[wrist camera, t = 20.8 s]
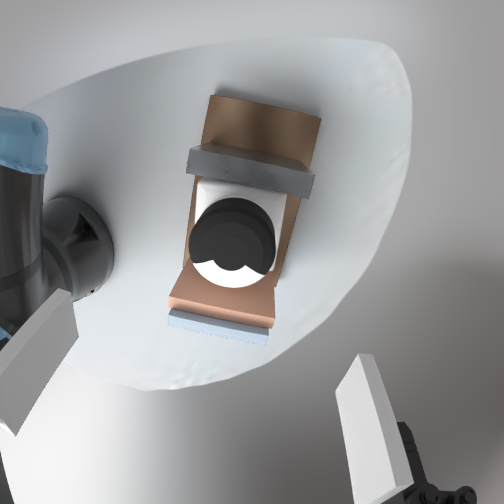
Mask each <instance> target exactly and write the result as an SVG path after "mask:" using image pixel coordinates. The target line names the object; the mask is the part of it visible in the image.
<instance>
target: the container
mask: <svg viewBox="0 0 504 504" xmlns="http://www.w3.org/2000/svg"><path fill="white" fill-rule="evenodd" d="M286 198H287V194H286V193H281V192H277V191H273V190H268V189H264V188H259V187H254V186H250V185H245V184H240V183H235V182H230V181H225V180H220V179H215V178H210V177H203V178H202V179H201V180H200V181H199V182H198V184H197V197H196V211H195V225H194V227H193V229H192V230H191V233H190V236H189V243H188V248H189V254H190V258H191V260H192V263H193V264H194V266H195V268H196V269H197V270H198V272H199V273H200V274H201V275H202V276H203V277H205V278H206V279H207V280H209V281H211V282H213V283H215V284H217V285H220V286H224V287H232V288H237V287H244V286H248V285H251V284H253V283H255V282H257V281H259V280H260V279H261V278H263V277H264V276H265V275H266V274H267V273H268V271H272V270H273V269H274V267H275V262H276V256H277V251H278V245H279V239H280V234H281V228H282V222H283V216H284V210H285V204H286Z"/></svg>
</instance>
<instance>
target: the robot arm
mask: <svg viewBox="0 0 504 504" xmlns="http://www.w3.org/2000/svg"><path fill="white" fill-rule="evenodd" d="M47 143H48V128H47V125H46V123H45V122H44V120H43V119H42V118H40V117H39V116H37V115H35V114H32V113H29V112H25V111H21V110H15V109H10V108H3V107H0V425H1V427H2V428H3V429H5V430H6V431H8V432H9V433H11V434H12V435H14V436H16V435H17V433H18V432H19V430H20V428H21V426H22V425H23V423H24V421H25V419H26V418H27V416H28V414H29V412H30V411H31V409H32V407H33V406H34V404H35V402H36V401H37V399H38V397H39V396H40V394H41V392H42V391H43V389H44V388H45V386H46V384H47V383H48V382H49V380H50V378H51V377H52V375H53V374H54V372H55V371H56V369H57V368H58V366H59V365H60V363H61V362H62V360H63V359H64V357H65V356H66V354H67V353H68V351H69V350H70V349H71V347H72V346H73V344H74V343H75V341H76V340H77V339H78V337H79V336H78V331H77V326H76V321H75V315H74V309H73V302H75V301H78V300H80V299H82V298H83V297H86V296H89V295H91V294H93V293H95V292H96V291H97V290H99V289H100V287H101V286H102V285H103V284H104V283H105V282H106V281H107V279H108V278H109V276H110V274H111V271H112V268H113V263H114V251H113V245H112V241H111V237H110V235H109V232H108V230H107V228H106V226H105V224H104V222H103V221H102V219H101V218H100V217H99V215H98V214H97V213H96V212H95V211H94V210H93V209H92V208H91V207H90V206H89V205H87V204H86V203H85V202H83V201H81V200H79V199H77V198H74V197H69V196H61V197H57V198H54V199H52V200H50V201H48V202H46V203H45V204H43V190H44V177H45V173H46V172H47V168H48V167H47V164H46V155H47ZM335 393H336V398H337V402H338V408H339V413H340V418H341V424H342V429H343V434H344V440H345V446H346V452H347V457H348V463H349V470H350V476H351V482H352V490H353V497H354V504H476V502H477V498H476V493H475V491H474V490H473V489H472V488H471V487H469V486H463V487H461V488H459V489H458V490H456V491H440V490H438V488H437V487H436V486H434V485H433V484H429V483H428V482H427V480H426V477H425V473H424V470H423V466H422V463H421V460H420V457H419V453H418V451H417V447H416V444H415V443H414V438H413V435H412V432H411V430H410V429H409V427H408V426H407V425H406V423H405V422H396V420H395V417H394V414H393V411H392V408H391V405H390V402H389V399H388V396H387V393H386V390H385V387H384V384H383V382H382V379H381V376H380V373H379V371H378V368H377V366H376V363H375V360H374V357H373V355H369V354H359V353H358V355H357V357H356V358H355V360H354V362H353V363H352V365H351V367H350V368H349V370H348V372H347V373H346V375H345V377H344V378H343V380H342V382H341V383H340V385H339V386H338V388H337V389H336V391H335ZM0 504H14V502H13V498H12V495H11V492H10V489H9V485H8V482H7V478H6V474H5V470H4V466H3V462H2V457H1V453H0Z"/></svg>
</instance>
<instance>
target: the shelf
mask: <svg viewBox="0 0 504 504" xmlns="http://www.w3.org/2000/svg"><path fill="white" fill-rule="evenodd" d="M320 122H321V118H318V117H315V116H311V115H307V114H303V113H299V112H296V111H291V110H287V109H283V108H279V107H274V106H270V105H265V104H260V103H255V102H250V101H245V100H239V99H234V98H228V97H221V96H215V95H211V96H210V100H209V105H208V110H207V115H206V120H205V125H204V130H203V135H202V141H201V145H203V144H206V143H209V142H212V143H218V144H224V145H229V146H234V147H240V148H245V149H249V150H254V151H259V152H264V153H268V154H273V155H277V156H281V157H286V158H290V159H294V160H298V161H302V162H303V164H304V165H305V166H306V167H307V168H308V169H309V166H310V162H311V158H312V154H313V150H314V146H315V142H316V138H317V134H318V130H319V126H320ZM203 177H204V176H199V175H195V181H194V187H193V193H192V200H191V207H190V214H189V221H188V228H187V236H186V244H185V252H184V260H183V268H184V266H185V264H186V262H187V260H188V259H189V257H190V254H189V248H188V243H189V236H190V233H191V230H192V229H193V227H194V225H195V211H196V197H197V184H198V182H199V181H200V180H201V179H202V178H203ZM300 200H301V197H298V196H294V195H290V194H287V198H286V204H285V210H284V216H283V222H282V228H281V234H280V239H279V245H278V251H277V256H276V262H275V267H274V269H273V276H274V287H276V286H277V282H278V279H279V275H280V272H281V269H282V265H283V262H284V258H285V255H286V251H287V248H288V244H289V240H290V237H291V233H292V230H293V226H294V222H295V219H296V215H297V211H298V208H299V204H300Z"/></svg>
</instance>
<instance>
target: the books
mask: <svg viewBox="0 0 504 504" xmlns="http://www.w3.org/2000/svg"><path fill="white" fill-rule="evenodd" d="M168 307H171V310H170V312H169V315H168V325H169V326H173V327H177V328H182V329H186V330H190V331H195V332H199V333H204V334H208V335H213V336H218V337H222V338H227V339H232V340H238V341H243V342H248V343H254V344H259V345H266V342H267V339H268V328H271V329H272V327H273V324H274V321H275V299H274V276H273V270H272V271H268V273H267V274H266V275H265V276H264V277H263V278H261V279H260V280H259V281H257V282H255V283H253V284H251V285H248V286H244V287H237V288H232V287H224V286H220V285H217V284H215V283H213V282H211V281H209V280H207V279H206V278H205V277H203V276H202V275H201V274H200V273H199V272H198V270H197V269H196V268H195V266H194V264H193V263H192V260H191V258H190V257H189V259H188V260H187V262H186V264H185V266H184V268H183V270H182V272H181V274H180V276H179V278H178V279H177V281H176V283H175V285H174V287H173V289H172V291H171V293H170V295H169V302H168Z"/></svg>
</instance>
